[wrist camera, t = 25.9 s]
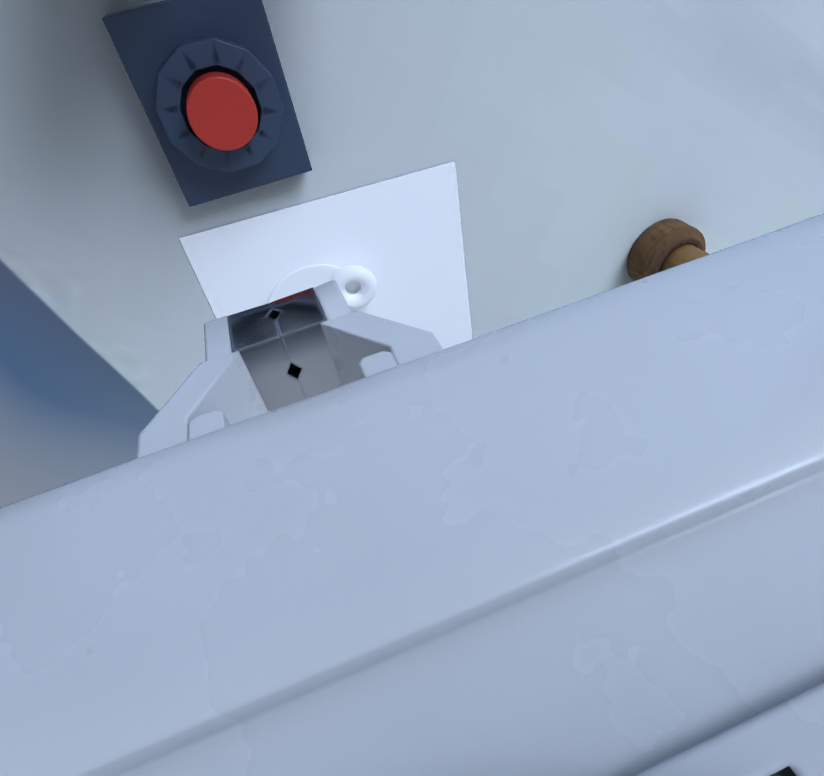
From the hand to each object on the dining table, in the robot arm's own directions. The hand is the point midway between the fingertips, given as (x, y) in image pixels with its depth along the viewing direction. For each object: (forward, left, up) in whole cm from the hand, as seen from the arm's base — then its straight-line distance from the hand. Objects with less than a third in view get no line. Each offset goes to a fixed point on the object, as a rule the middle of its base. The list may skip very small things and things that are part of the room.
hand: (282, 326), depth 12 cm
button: (0, 0, -24) cm, 24 cm away
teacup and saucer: (+17, +4, -27) cm, 33 cm away
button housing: (0, 0, -27) cm, 27 cm away
